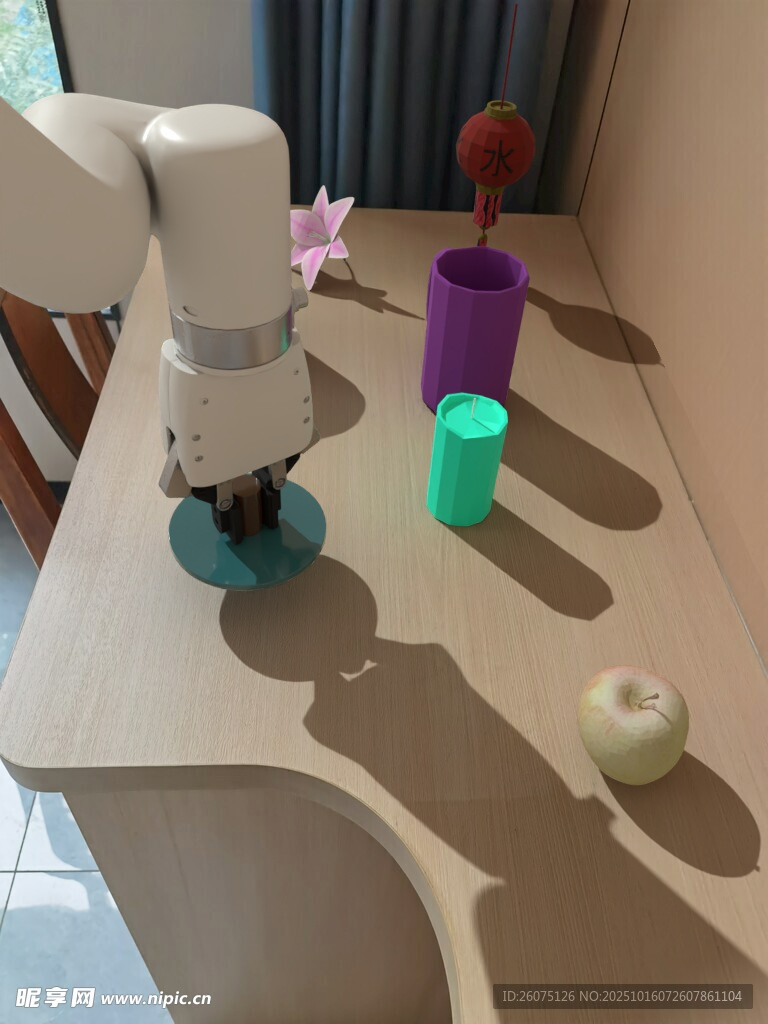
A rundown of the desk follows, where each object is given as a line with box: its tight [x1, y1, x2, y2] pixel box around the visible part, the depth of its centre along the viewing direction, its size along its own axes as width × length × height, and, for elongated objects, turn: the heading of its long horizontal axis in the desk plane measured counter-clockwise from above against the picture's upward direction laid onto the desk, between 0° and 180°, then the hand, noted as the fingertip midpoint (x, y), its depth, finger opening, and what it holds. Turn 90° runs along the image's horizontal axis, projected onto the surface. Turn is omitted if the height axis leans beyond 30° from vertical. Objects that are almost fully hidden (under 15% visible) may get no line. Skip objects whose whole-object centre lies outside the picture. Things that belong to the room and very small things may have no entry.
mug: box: [420, 245, 531, 414], centre depth 82 cm, size 9×16×15 cm, turn 18°
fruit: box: [576, 664, 690, 786], centre depth 54 cm, size 8×7×8 cm
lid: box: [167, 472, 327, 592], centre depth 62 cm, size 12×12×6 cm
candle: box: [426, 393, 509, 527], centre depth 69 cm, size 6×6×12 cm
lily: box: [290, 185, 355, 291], centre depth 100 cm, size 12×12×10 cm
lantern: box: [455, 3, 537, 247], centre depth 95 cm, size 10×10×30 cm
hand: (248, 523), depth 63 cm, fingers closed on lid, 2 cm apart
